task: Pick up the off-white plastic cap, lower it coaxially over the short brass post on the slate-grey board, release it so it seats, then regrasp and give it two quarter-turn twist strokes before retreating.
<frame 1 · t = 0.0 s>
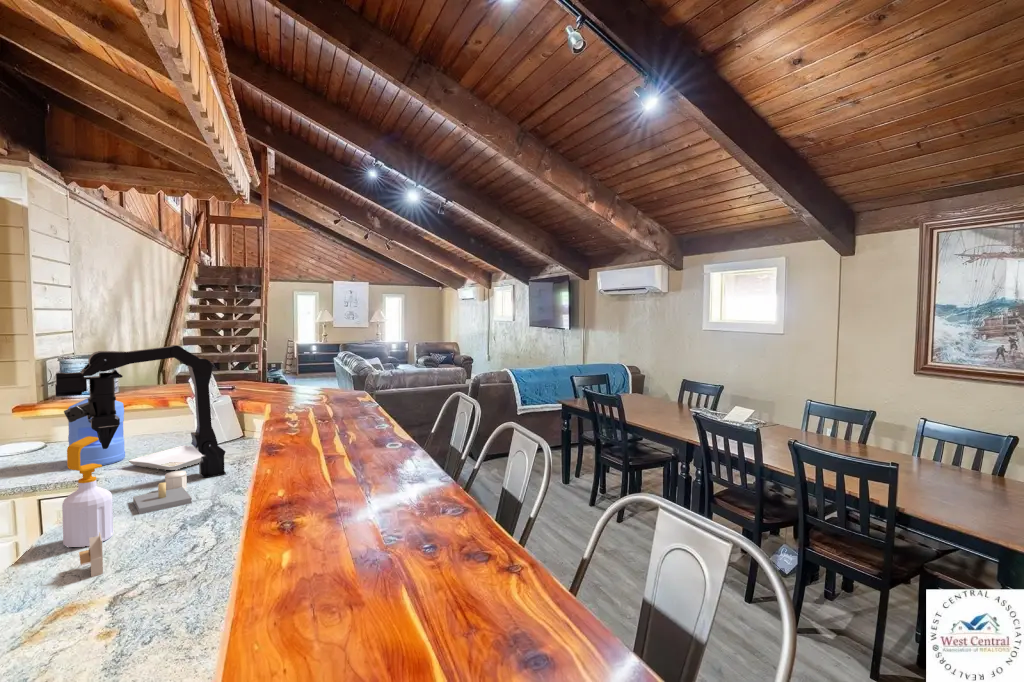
hand: (103, 445, 146), 15 cm above the table, tool pointing down, fingers open, 9 cm apart
salad plate: (177, 464, 179), on the table
post base: (162, 502, 141), on the table
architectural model: (95, 573, 103), on the table
water jug: (97, 462, 179), on the table
cap: (176, 489, 152), on the table
soap bottle: (88, 540, 117), on the table
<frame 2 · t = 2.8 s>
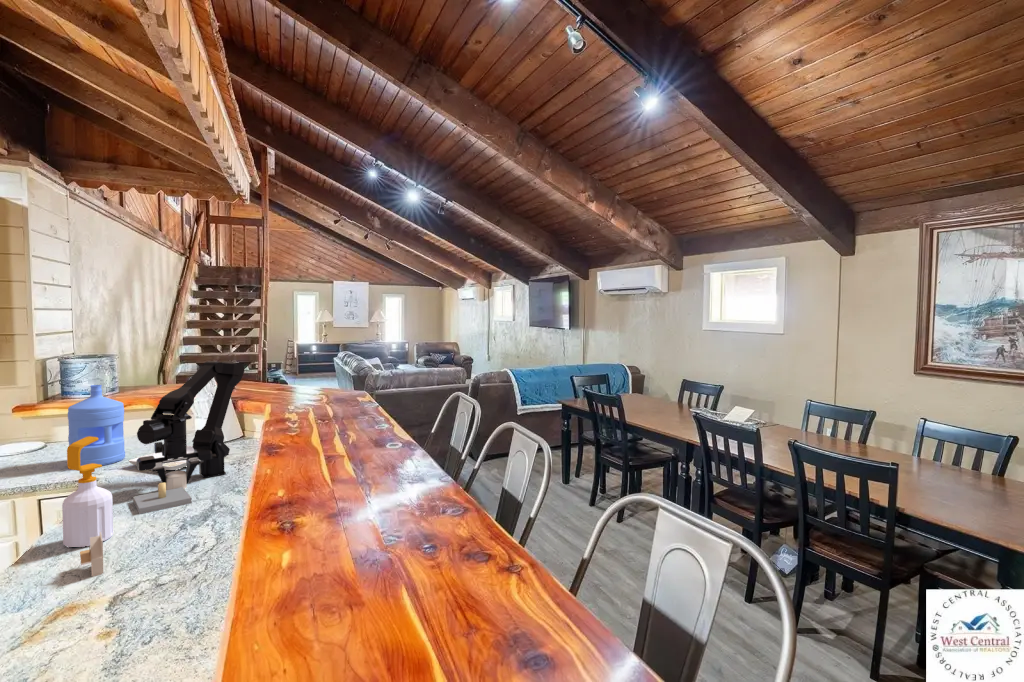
hand: (176, 486, 152), 1 cm above the table, tool pointing down, fingers closed on cap, 5 cm apart
cap: (176, 489, 152), on the table, touching gripper
everything else where it was.
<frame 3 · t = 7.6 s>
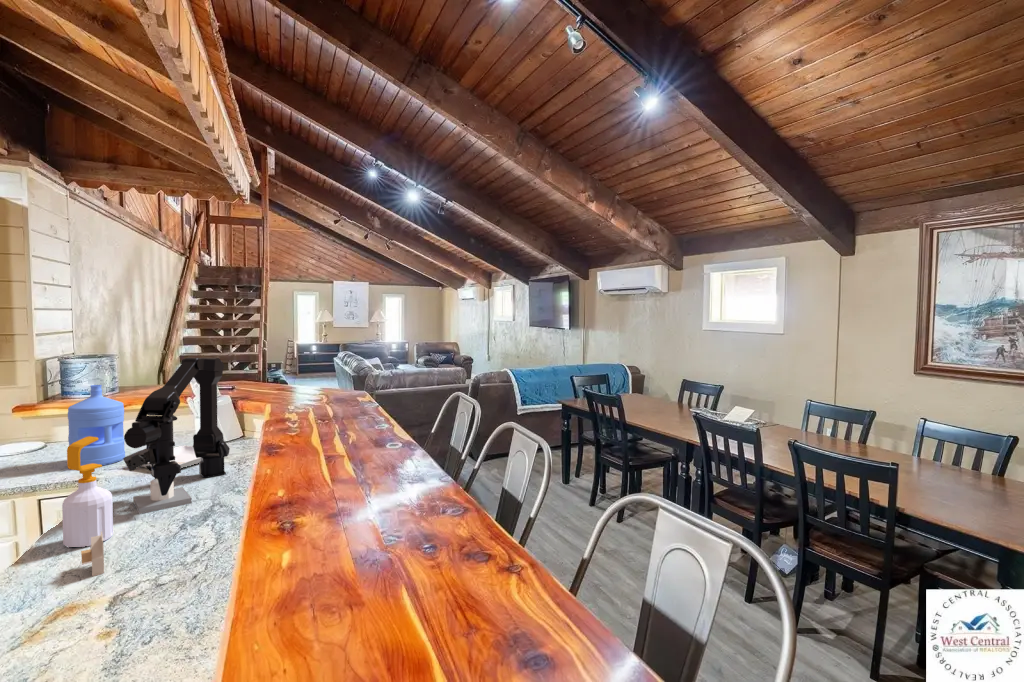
hand: (162, 492, 141), 3 cm above the table, tool pointing down, fingers closed on cap, 5 cm apart
cap: (162, 497, 141), point 2 cm above the table, touching gripper, post base
everything else where it was.
when the fingers open (3 cm above the table, at t = 8.9 s): cap stays where it is, resting on post base.
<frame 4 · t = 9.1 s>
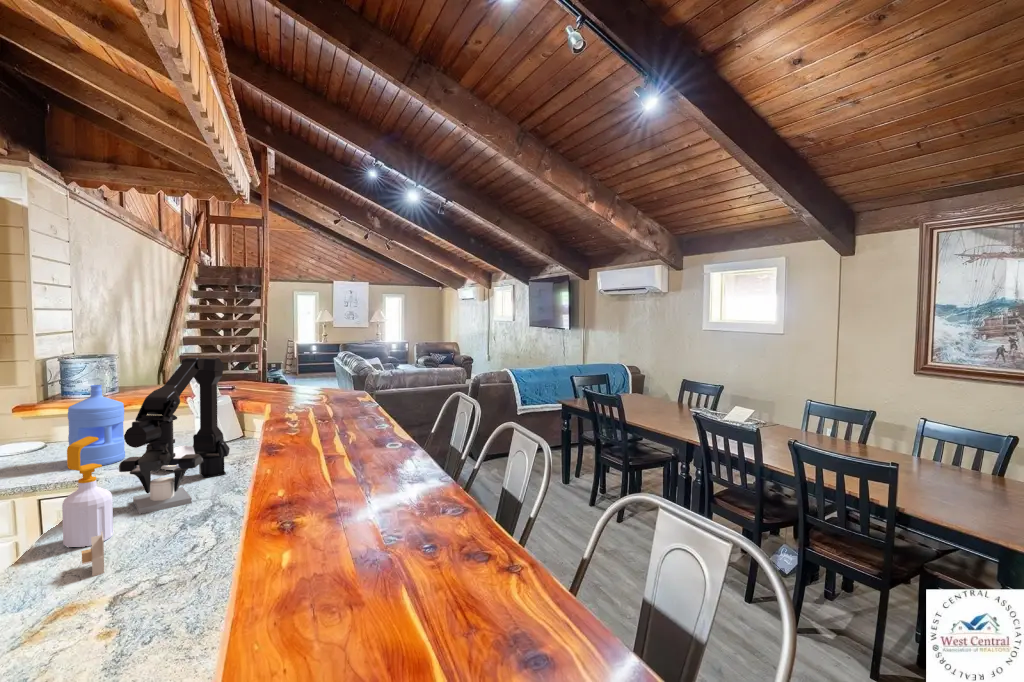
hand: (162, 492, 141), 3 cm above the table, tool pointing down, fingers open, 7 cm apart
cap: (162, 497, 141), point 1 cm above the table, touching post base
everything else where it was.
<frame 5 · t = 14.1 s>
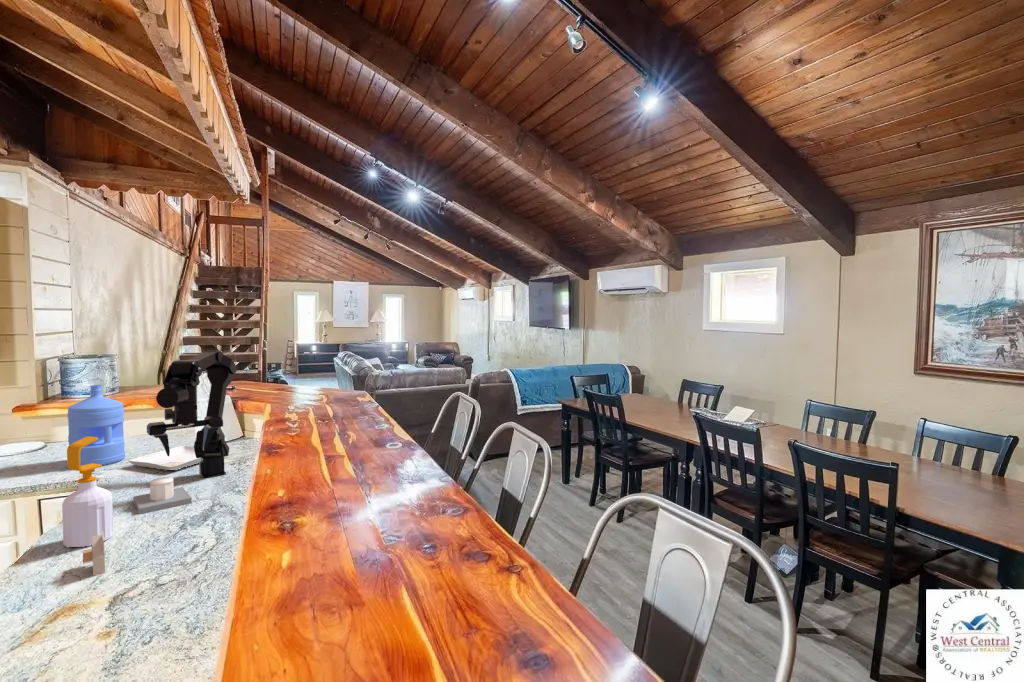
hand: (186, 453, 149), 12 cm above the table, tool pointing down, fingers open, 9 cm apart
nothing on the table moved.
at the end: cap 0.0 cm off-centre on the post base, point 1.5 cm above the post base's base; cap tilted 0°; the gripper is holding nothing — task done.
